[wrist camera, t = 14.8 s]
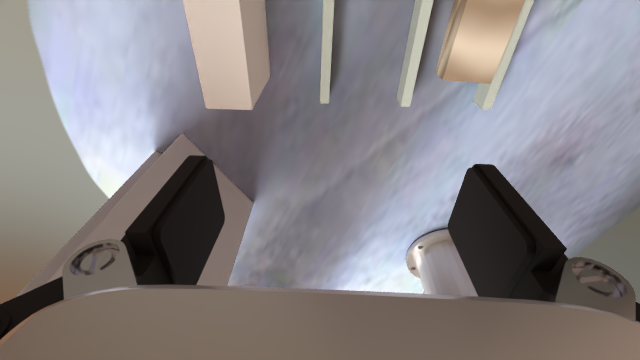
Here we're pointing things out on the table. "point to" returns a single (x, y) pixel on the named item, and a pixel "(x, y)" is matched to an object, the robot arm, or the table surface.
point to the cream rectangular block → (229, 50)
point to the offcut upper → (478, 39)
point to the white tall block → (138, 195)
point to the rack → (413, 54)
